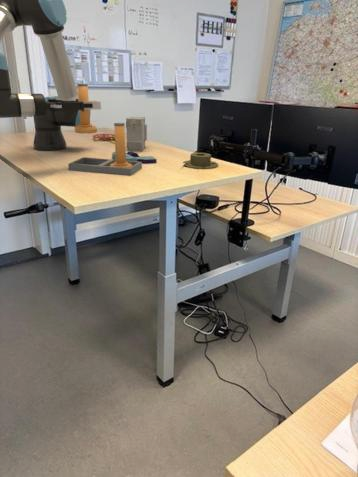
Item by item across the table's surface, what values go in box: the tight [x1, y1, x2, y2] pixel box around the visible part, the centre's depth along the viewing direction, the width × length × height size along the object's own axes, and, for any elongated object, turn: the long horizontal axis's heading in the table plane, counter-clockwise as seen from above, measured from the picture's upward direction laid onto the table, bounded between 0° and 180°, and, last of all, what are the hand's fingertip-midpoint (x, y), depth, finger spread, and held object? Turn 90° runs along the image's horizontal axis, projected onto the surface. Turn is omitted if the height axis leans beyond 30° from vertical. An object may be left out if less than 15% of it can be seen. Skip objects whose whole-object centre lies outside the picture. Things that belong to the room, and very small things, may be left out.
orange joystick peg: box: [74, 83, 98, 134], centre depth 131 cm, size 8×8×17 cm
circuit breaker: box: [125, 116, 148, 153], centre depth 174 cm, size 8×14×15 cm, turn 174°
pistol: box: [111, 151, 158, 165], centre depth 147 cm, size 4×16×15 cm
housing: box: [67, 156, 143, 176], centre depth 132 cm, size 24×12×4 cm, turn 77°
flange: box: [182, 152, 219, 170], centre depth 148 cm, size 5×15×15 cm
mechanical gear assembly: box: [92, 133, 115, 145], centre depth 196 cm, size 30×4×15 cm
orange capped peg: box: [110, 122, 132, 168], centre depth 128 cm, size 8×8×17 cm
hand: (98, 105), depth 133 cm, fingers closed on orange joystick peg, 4 cm apart
